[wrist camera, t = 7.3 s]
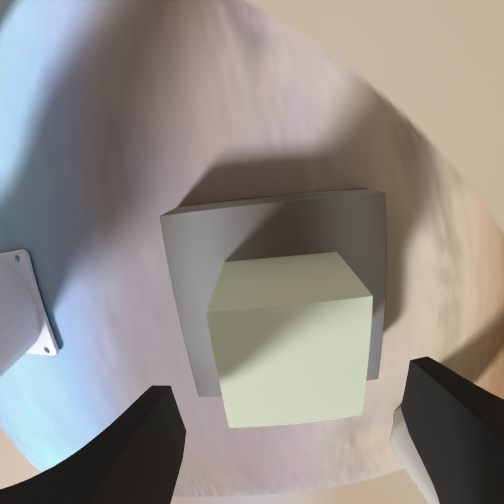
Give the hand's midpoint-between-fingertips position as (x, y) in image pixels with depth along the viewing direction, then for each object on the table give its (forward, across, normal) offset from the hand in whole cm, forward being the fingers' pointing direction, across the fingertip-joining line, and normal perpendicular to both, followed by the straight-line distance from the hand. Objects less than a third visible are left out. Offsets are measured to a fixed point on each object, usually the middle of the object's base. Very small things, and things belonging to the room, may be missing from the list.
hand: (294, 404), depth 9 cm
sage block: (+6, 0, 0) cm, 6 cm away
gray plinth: (+9, 0, 0) cm, 9 cm away
